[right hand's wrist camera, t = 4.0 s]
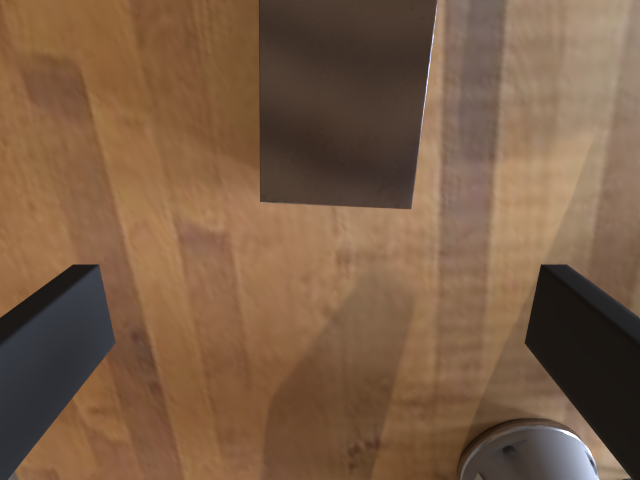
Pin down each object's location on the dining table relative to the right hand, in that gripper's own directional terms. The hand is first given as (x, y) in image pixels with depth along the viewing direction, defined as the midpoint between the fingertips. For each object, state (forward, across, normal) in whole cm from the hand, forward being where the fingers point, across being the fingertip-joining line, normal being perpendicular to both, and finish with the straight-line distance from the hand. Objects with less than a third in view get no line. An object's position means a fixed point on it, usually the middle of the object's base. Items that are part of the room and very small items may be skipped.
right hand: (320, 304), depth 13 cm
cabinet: (+26, -2, -8) cm, 27 cm away
